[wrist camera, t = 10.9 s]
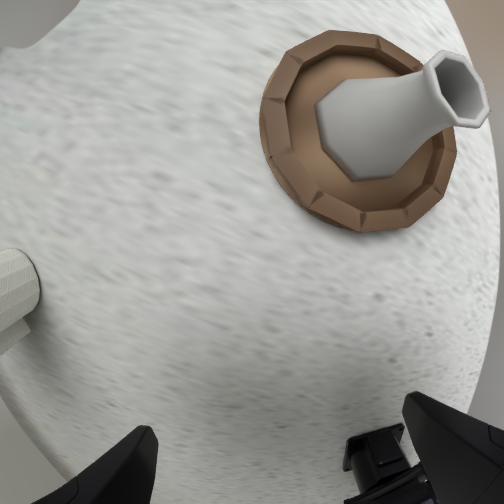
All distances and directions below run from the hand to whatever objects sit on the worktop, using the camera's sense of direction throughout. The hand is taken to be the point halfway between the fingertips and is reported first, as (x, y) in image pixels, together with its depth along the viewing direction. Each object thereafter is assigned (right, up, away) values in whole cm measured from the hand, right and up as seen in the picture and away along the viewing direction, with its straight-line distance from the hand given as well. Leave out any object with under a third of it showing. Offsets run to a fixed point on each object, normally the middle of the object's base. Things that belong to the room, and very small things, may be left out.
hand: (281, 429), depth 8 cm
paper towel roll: (-22, +3, +12) cm, 25 cm away
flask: (+7, +14, +9) cm, 18 cm away
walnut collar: (+7, +14, +9) cm, 18 cm away
